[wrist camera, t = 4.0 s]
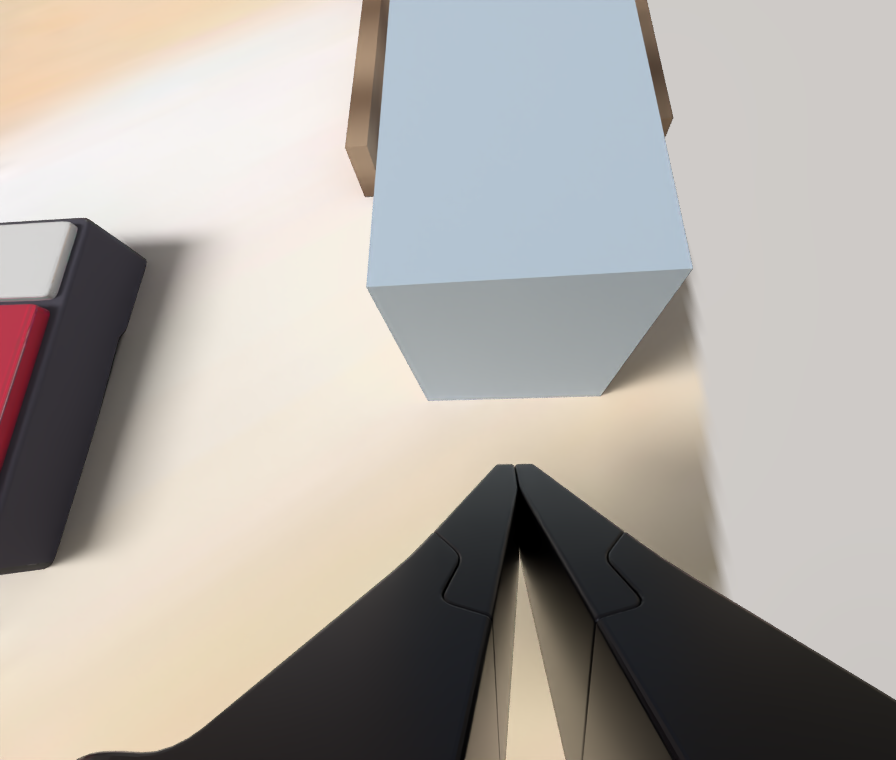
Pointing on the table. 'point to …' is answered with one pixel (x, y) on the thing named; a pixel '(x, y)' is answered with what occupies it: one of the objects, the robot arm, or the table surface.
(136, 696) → the table surface
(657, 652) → the robot arm
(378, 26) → the frame
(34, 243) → the calculator
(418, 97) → the slate box
